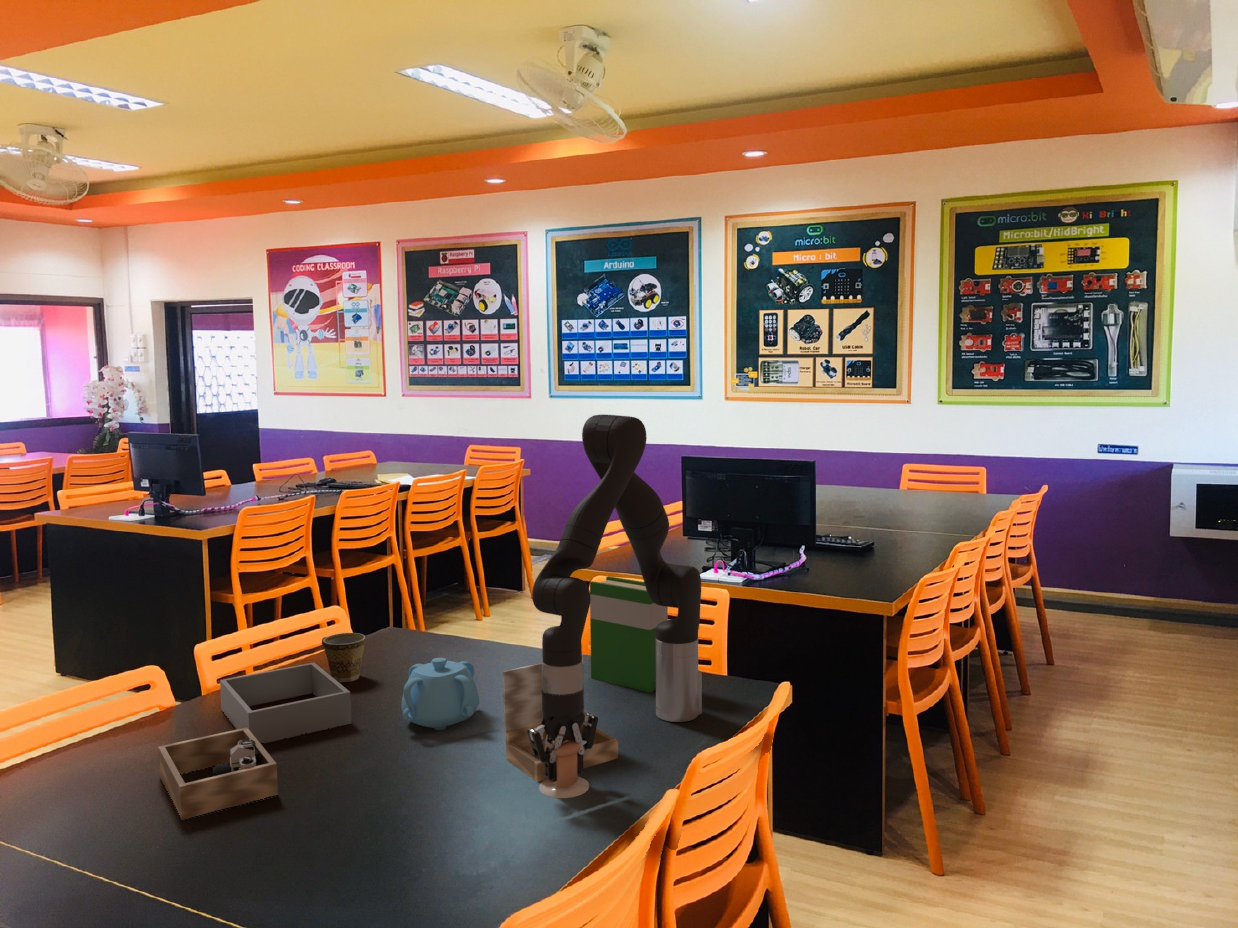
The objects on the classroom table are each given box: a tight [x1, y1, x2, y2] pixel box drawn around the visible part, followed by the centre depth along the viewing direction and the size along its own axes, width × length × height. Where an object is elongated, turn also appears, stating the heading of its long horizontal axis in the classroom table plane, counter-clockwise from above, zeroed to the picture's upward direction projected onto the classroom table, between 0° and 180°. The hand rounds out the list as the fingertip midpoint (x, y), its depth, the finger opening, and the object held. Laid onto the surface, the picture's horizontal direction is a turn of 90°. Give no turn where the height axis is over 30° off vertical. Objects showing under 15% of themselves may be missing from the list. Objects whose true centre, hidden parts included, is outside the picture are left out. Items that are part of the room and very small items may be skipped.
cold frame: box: [502, 653, 619, 783], centre depth 184 cm, size 18×14×18 cm
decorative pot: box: [401, 657, 480, 731], centre depth 206 cm, size 16×16×14 cm
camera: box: [212, 738, 258, 777], centre depth 174 cm, size 13×8×9 cm, turn 26°
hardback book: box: [589, 575, 669, 693], centre depth 229 cm, size 18×7×24 cm, turn 53°
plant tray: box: [219, 662, 353, 745], centre depth 209 cm, size 21×25×7 cm
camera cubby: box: [157, 727, 279, 821], centre depth 175 cm, size 16×21×6 cm
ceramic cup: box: [321, 632, 366, 683], centre depth 235 cm, size 13×10×10 cm
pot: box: [548, 740, 580, 786], centre depth 172 cm, size 6×6×7 cm
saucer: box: [538, 776, 590, 799], centre depth 173 cm, size 9×9×1 cm
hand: (564, 776), depth 172 cm, fingers closed on pot, 4 cm apart
